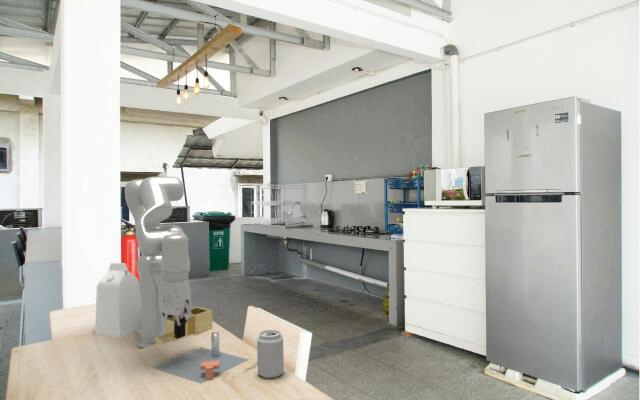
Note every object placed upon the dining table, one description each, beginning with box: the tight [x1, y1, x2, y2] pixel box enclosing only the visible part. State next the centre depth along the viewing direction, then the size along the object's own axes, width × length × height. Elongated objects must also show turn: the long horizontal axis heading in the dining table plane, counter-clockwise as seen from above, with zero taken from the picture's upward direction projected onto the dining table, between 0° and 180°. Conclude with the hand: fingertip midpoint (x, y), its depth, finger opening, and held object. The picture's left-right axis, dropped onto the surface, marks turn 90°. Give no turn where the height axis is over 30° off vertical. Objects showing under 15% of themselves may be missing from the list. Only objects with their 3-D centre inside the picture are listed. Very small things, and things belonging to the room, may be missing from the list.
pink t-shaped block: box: [200, 361, 220, 381], centre depth 122 cm, size 5×5×5 cm
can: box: [256, 329, 285, 379], centre depth 126 cm, size 8×8×12 cm
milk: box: [94, 262, 141, 339], centre depth 166 cm, size 12×12×26 cm
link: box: [155, 306, 213, 345], centre depth 134 cm, size 18×7×6 cm, turn 148°
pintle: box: [210, 331, 221, 357], centre depth 136 cm, size 2×2×8 cm
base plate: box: [152, 347, 249, 384], centre depth 130 cm, size 20×19×2 cm
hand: (175, 335), depth 132 cm, fingers closed on link, 3 cm apart
